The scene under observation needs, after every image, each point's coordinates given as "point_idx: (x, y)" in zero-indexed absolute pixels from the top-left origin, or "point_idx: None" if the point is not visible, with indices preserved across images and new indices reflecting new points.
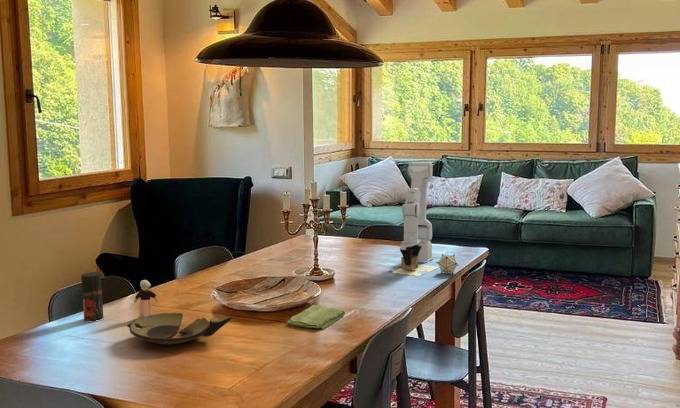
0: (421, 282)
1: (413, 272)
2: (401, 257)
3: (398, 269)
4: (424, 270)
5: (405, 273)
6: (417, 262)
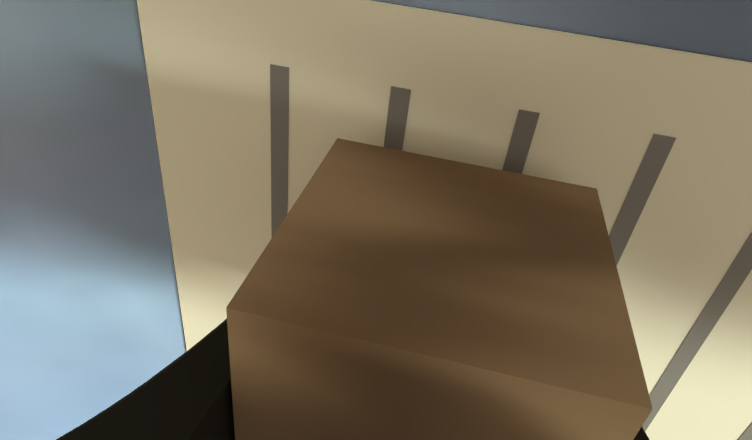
0: (12, 415)
1: None
2: (233, 303)
3: (437, 22)
4: None
5: (209, 227)
6: None
